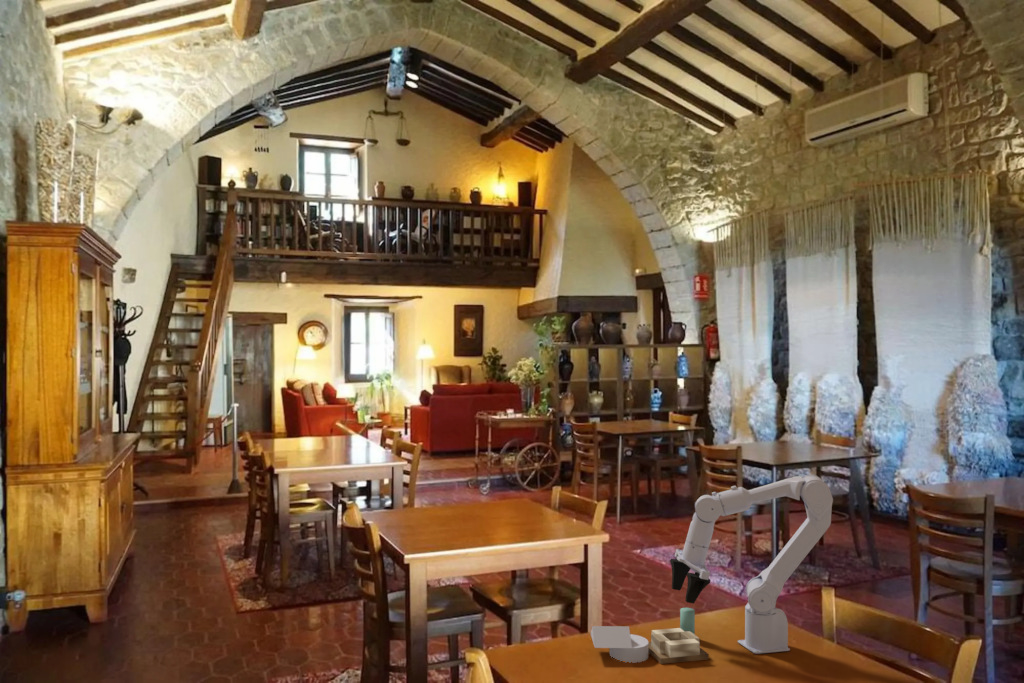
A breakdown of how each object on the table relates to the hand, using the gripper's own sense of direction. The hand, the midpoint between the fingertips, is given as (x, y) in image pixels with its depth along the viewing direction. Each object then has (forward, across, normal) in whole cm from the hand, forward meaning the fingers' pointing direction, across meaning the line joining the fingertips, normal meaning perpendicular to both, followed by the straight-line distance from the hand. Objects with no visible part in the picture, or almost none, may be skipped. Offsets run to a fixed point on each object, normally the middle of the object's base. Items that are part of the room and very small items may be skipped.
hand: (682, 595), depth 189 cm
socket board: (+11, +9, -3) cm, 14 cm away
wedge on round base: (+14, +7, -16) cm, 22 cm away
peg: (+10, 0, +4) cm, 11 cm away
